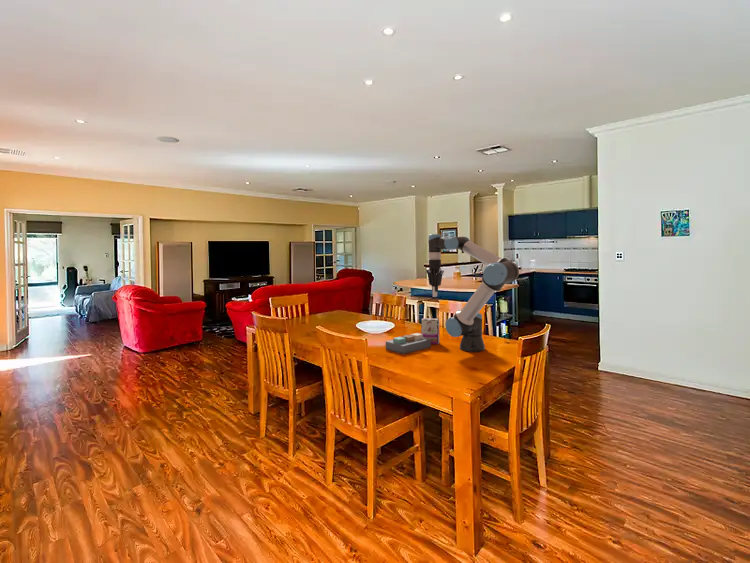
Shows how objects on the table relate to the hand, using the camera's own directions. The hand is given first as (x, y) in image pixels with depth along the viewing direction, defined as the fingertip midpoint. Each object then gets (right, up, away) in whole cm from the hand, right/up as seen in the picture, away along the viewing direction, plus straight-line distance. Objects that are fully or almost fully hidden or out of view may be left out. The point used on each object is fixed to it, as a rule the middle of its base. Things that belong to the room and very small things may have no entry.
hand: (435, 296), depth 253 cm
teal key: (-22, -30, -3) cm, 38 cm away
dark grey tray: (-17, -33, +2) cm, 37 cm away
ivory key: (-11, -29, +7) cm, 32 cm away
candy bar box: (-1, -32, +13) cm, 34 cm away
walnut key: (-17, -29, +2) cm, 34 cm away
